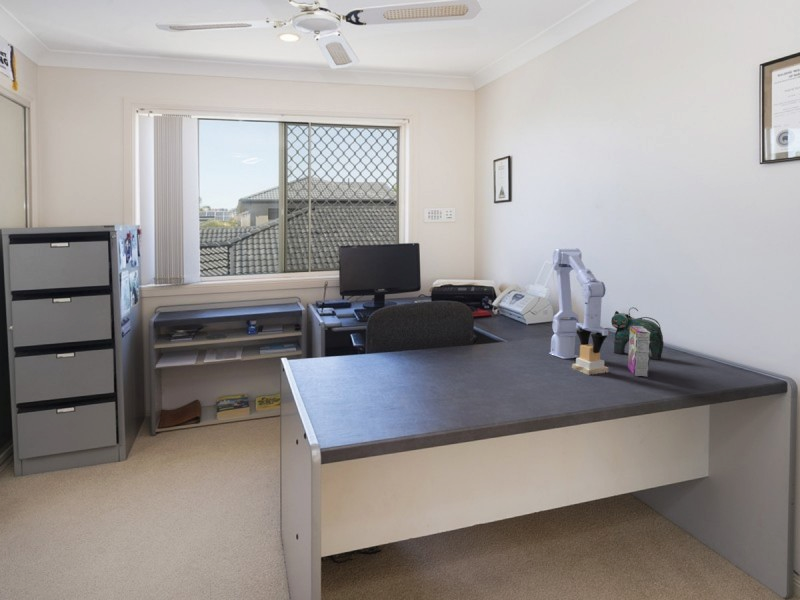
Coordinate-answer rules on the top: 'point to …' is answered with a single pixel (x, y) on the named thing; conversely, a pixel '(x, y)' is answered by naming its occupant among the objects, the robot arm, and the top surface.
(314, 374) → the top surface
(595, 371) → the maple base slab
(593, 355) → the tan cube
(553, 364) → the top surface
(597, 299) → the robot arm
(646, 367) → the candy bar box
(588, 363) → the off-white slab
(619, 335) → the ceramic cat
